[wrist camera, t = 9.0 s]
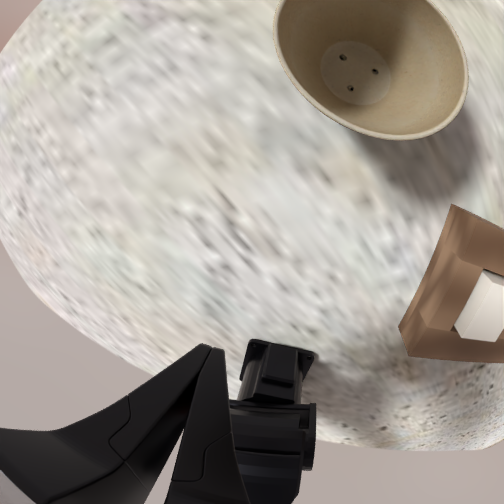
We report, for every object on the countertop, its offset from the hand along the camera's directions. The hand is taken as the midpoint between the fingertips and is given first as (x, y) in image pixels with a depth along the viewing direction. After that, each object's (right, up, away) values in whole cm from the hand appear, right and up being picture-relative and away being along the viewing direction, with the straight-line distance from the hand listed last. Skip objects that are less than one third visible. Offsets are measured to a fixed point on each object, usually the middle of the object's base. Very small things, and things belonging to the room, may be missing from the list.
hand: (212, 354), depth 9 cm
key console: (+26, 0, +10) cm, 27 cm away
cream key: (+21, 0, +8) cm, 22 cm away
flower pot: (+9, +16, +6) cm, 19 cm away
